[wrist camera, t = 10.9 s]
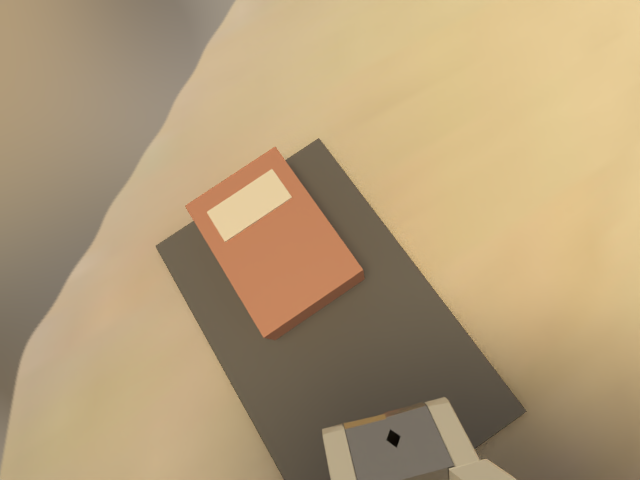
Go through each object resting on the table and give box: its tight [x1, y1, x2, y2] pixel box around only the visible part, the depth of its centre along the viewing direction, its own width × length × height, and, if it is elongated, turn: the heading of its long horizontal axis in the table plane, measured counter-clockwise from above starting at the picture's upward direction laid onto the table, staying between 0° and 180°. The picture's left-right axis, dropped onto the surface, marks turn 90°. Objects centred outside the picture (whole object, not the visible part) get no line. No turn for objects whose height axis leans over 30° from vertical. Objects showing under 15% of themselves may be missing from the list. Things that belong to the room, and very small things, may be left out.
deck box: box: [185, 147, 365, 340], centre depth 28 cm, size 3×7×10 cm
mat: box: [156, 138, 526, 480], centre depth 28 cm, size 22×14×1 cm, turn 33°
